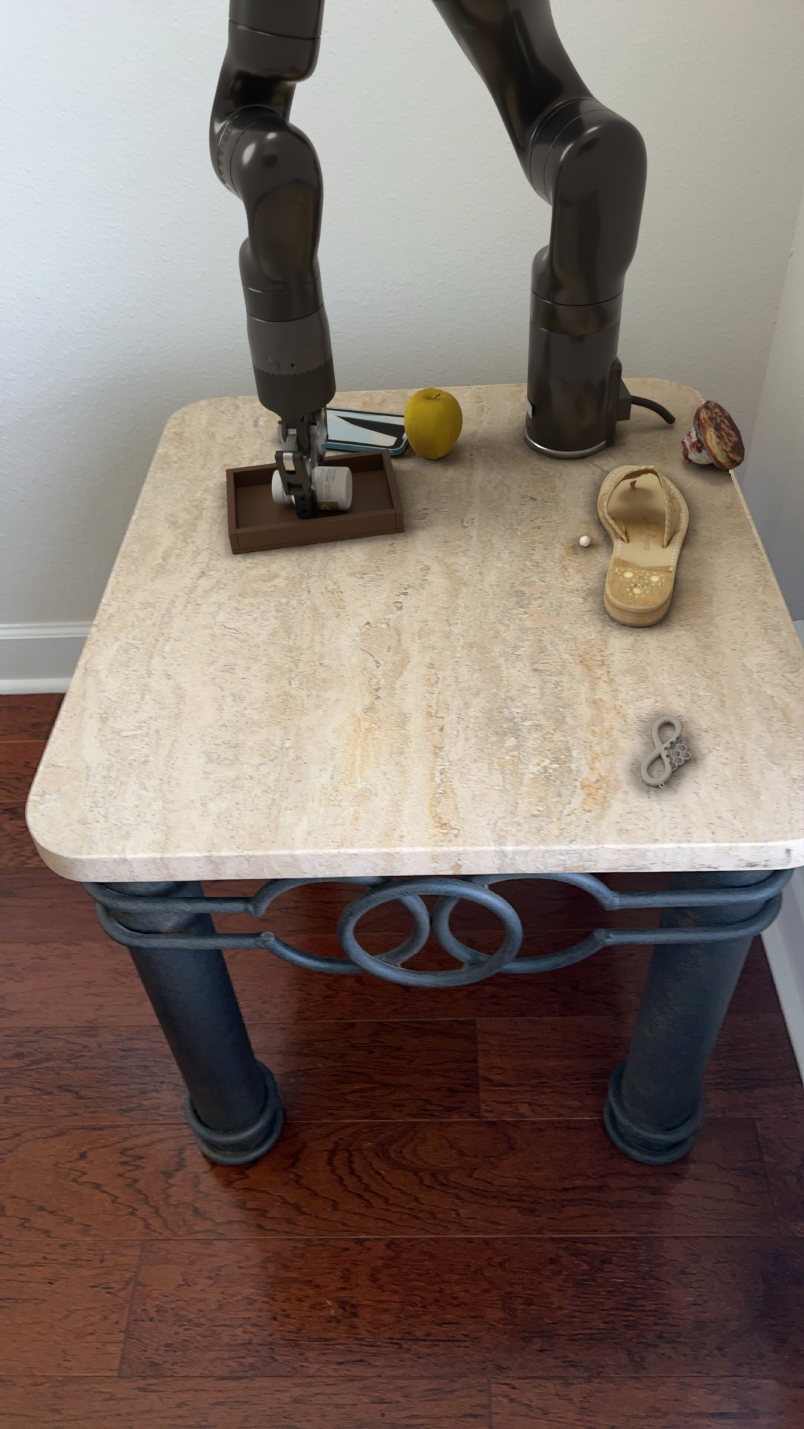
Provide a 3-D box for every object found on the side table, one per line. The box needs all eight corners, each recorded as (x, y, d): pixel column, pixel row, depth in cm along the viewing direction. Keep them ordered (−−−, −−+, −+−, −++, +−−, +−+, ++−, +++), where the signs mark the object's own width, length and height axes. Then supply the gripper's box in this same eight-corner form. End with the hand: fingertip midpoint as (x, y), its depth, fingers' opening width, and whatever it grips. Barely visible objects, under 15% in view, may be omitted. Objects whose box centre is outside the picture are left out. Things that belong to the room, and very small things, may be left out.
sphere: (602, 594, 98) (599, 602, 99) (590, 532, 102) (588, 541, 103) (592, 594, 98) (589, 602, 99) (580, 532, 102) (578, 540, 103)
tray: (389, 467, 114) (388, 448, 112) (404, 531, 106) (403, 511, 104) (229, 488, 113) (225, 468, 111) (232, 554, 105) (228, 534, 103)
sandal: (524, 594, 98) (527, 524, 92) (617, 465, 112) (625, 397, 106) (653, 635, 94) (665, 565, 88) (735, 496, 107) (750, 426, 101)
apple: (453, 473, 113) (452, 407, 107) (397, 465, 114) (393, 400, 108) (470, 441, 117) (469, 375, 111) (415, 434, 118) (412, 369, 112)
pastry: (707, 432, 104) (666, 460, 107) (752, 476, 107) (711, 501, 111) (704, 384, 109) (665, 412, 112) (747, 428, 112) (708, 454, 115)
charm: (636, 787, 82) (682, 795, 81) (636, 783, 82) (682, 790, 81) (656, 714, 87) (700, 721, 86) (656, 710, 87) (700, 716, 86)
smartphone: (298, 403, 123) (419, 415, 119) (299, 410, 123) (420, 423, 119) (274, 437, 118) (400, 451, 114) (276, 444, 119) (400, 458, 115)
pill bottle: (353, 509, 110) (281, 507, 111) (353, 466, 109) (280, 464, 110) (345, 512, 106) (270, 510, 107) (345, 467, 104) (270, 466, 105)
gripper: (317, 391, 91) (336, 546, 104) (343, 314, 101) (358, 465, 113) (234, 390, 92) (263, 544, 105) (268, 313, 102) (291, 463, 114)
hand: (312, 502), depth 109 cm, fingers closed on pill bottle, 4 cm apart
